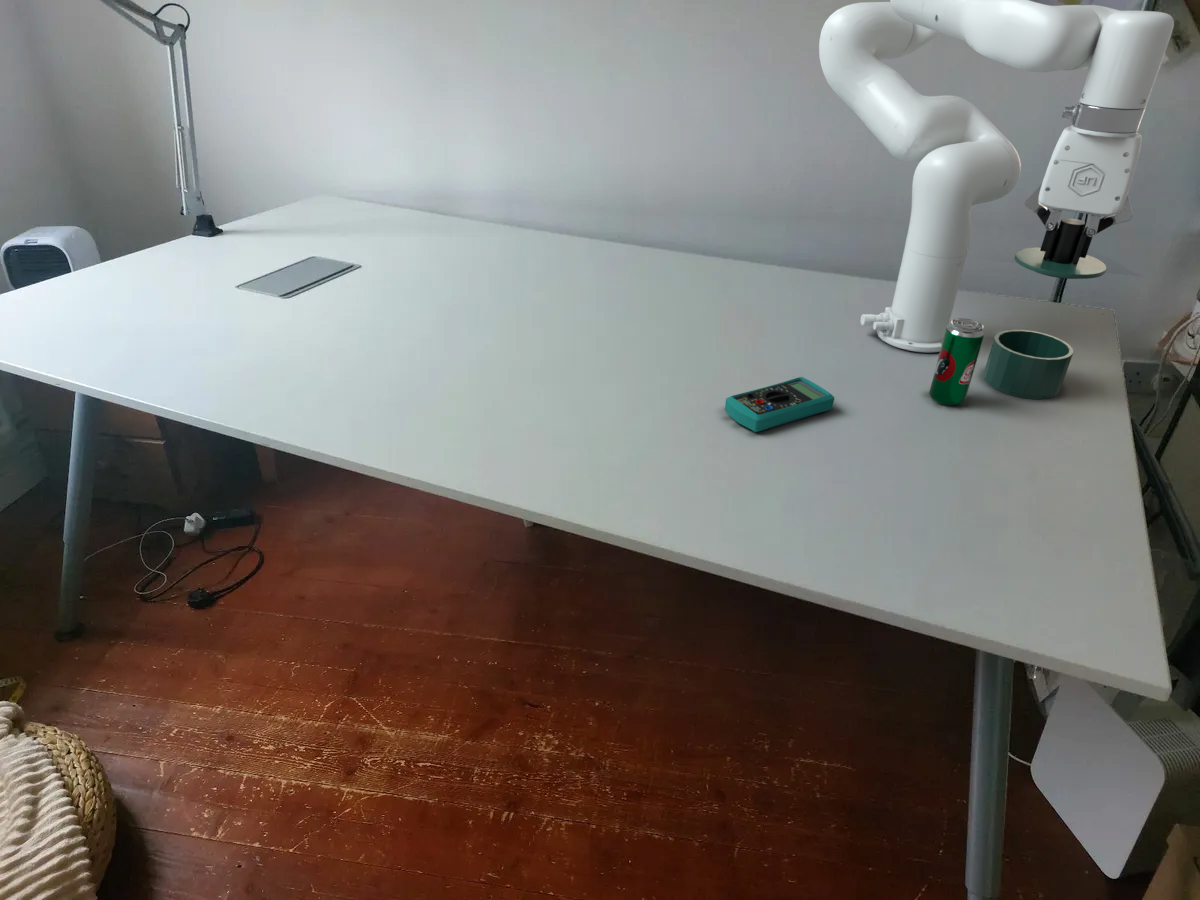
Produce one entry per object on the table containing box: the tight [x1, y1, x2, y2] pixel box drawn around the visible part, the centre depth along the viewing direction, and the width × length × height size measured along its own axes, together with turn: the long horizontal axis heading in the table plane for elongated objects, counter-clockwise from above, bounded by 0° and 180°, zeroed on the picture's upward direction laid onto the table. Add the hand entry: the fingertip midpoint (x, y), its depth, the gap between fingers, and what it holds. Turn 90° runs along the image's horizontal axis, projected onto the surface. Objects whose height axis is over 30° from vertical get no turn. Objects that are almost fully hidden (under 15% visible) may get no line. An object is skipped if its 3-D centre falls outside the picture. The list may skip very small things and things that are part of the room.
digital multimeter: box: [724, 376, 835, 433], centre depth 114 cm, size 7×15×3 cm, turn 119°
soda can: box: [928, 317, 985, 407], centre depth 116 cm, size 5×5×12 cm
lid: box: [1014, 217, 1107, 280], centre depth 112 cm, size 12×12×7 cm
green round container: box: [982, 329, 1075, 400], centre depth 122 cm, size 11×11×6 cm
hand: (1061, 258), depth 113 cm, fingers closed on lid, 3 cm apart
